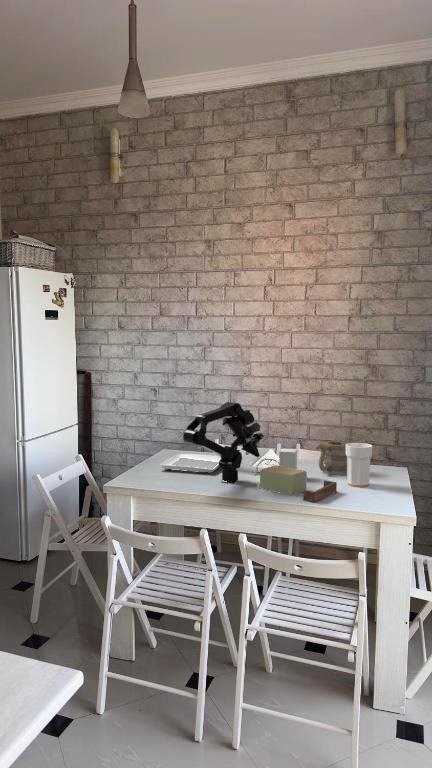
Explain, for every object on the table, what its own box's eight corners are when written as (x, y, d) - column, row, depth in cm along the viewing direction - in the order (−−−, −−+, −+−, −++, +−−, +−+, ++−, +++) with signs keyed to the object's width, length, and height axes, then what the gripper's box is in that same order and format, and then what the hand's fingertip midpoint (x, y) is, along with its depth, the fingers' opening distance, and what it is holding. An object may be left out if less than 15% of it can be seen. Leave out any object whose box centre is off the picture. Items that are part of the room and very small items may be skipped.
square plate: (158, 472, 266) (158, 464, 266) (179, 460, 292) (179, 452, 292) (213, 476, 258) (213, 468, 258) (229, 463, 284) (229, 456, 284)
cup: (352, 488, 236) (353, 448, 235) (339, 482, 247) (340, 443, 246) (376, 486, 239) (377, 446, 238) (362, 480, 250) (363, 442, 249)
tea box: (259, 488, 237) (260, 469, 236) (274, 483, 245) (275, 464, 244) (291, 496, 226) (292, 475, 225) (306, 490, 234) (306, 470, 234)
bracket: (303, 500, 219) (303, 490, 219) (324, 489, 235) (324, 480, 234) (315, 502, 216) (315, 492, 216) (336, 491, 232) (336, 482, 231)
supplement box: (297, 475, 258) (297, 448, 257) (295, 479, 251) (295, 452, 250) (281, 474, 260) (281, 447, 259) (278, 478, 253) (279, 451, 252)
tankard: (336, 468, 274) (336, 437, 273) (355, 473, 263) (356, 441, 262) (305, 473, 263) (305, 441, 262) (324, 479, 253) (324, 446, 251)
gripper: (236, 419, 236) (258, 448, 230) (260, 414, 251) (281, 442, 245) (221, 435, 241) (242, 464, 235) (245, 430, 256) (265, 457, 250)
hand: (258, 456), depth 241 cm, fingers closed
